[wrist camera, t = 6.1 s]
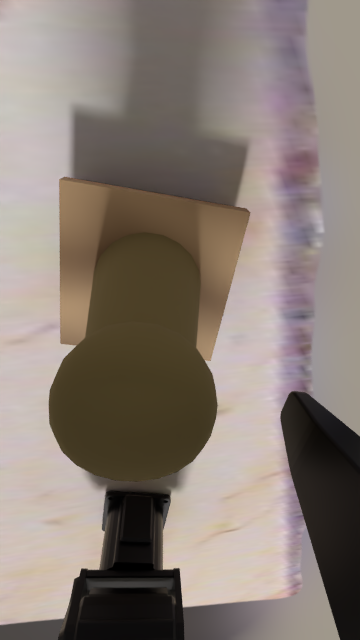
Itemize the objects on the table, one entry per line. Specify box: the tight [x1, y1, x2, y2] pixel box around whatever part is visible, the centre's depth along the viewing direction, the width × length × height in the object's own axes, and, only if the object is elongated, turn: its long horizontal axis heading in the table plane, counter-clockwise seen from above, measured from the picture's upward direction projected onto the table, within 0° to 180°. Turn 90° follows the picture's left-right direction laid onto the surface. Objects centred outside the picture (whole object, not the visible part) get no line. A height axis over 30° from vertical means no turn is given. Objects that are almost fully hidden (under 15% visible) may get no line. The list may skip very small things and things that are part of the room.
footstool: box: [59, 177, 250, 361], centre depth 20 cm, size 10×10×3 cm
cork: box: [49, 232, 218, 482], centre depth 14 cm, size 6×6×11 cm
